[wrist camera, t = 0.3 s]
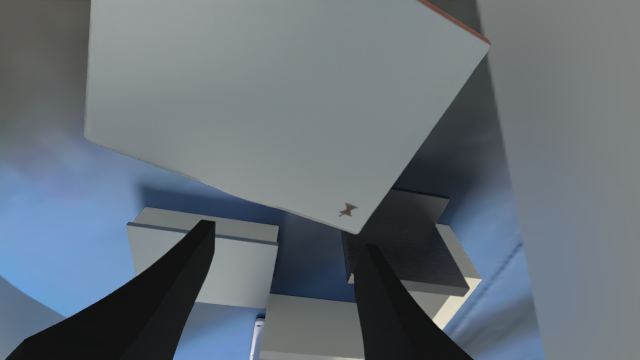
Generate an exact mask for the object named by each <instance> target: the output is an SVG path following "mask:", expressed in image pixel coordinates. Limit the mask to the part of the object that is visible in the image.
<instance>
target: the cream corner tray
mask: <svg viewBox="0 0 640 360" xmlns="http://www.w3.org/2000/svg"><path fill="white" fill-rule="evenodd" d="M435 226H436V227H437V229H438V231H439V233H440V235H441V236H442V238H443V240H444V242H445V244H446V246H447V247H448V249H449V251H450V253H451V255H452V256H453V258H454V260H455V262H456V264H457V266H458V267H459V269H460V271H461V273H462V275H463V276H464V278H465V280H466V282H467V284H468V285H469V287H470V290H469V291H468V292H467V293H466V295H465V296H464V297H458V296H450V295H441V294H433V293H425V292H417V291H408V290H407V291H408V292H409V293H410V295H411V296H412V297H413V298H414V300H415V301H416V302H417V303H418V305H419V306H420V307H421V308H422V309H423V310H424V312H425V313H426V314H427V315H428V316H429V317H430V318H431V319H432V321H433V322H434V323H435V324H436V325H437V326H438V327H439V328H440V329H441V330H442V329H443V328H444V327H445V326H446V324H447V323H448V322H449V321H450V319H451V318H452V317H453V316H454V314H455V313H456V312H457V310H458V309H459V308H460V307H461V305H462V304H463V303H464V302H465V300H466V299H467V298H468V297H469V295H470V294H471V293H472V291H473V290H474V289H475V288H476V286H477V285H478V284H479V283H480V281H481V280H482V278H481V277H480V275H479V274H478V272H477V270H476V269H475V267H474V265H473V264H472V262H471V261H470V259H469V257H468V256H467V254H466V252H465V251H464V249H463V247H462V246H461V244H460V243H459V241H458V239H457V238H456V236H455V234H454V233H453V231H452V230H451V228H450V226H448V225H442V224H436V225H435ZM259 359H270V360H365V356H364V345H363V337H362V331H361V326H360V320H359V314H358V309H357V303H351V302H342V301H333V300H324V299H315V298H306V297H297V296H288V295H279V294H270V293H269V298H268V304H267V309H266V316H265V322H264V329H263V335H262V342H261V349H260V355H259Z"/></svg>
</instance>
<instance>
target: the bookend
mask: <svg viewBox="0 0 640 360" xmlns="http://www.w3.org/2000/svg"><path fill="white" fill-rule="evenodd" d="M449 201H450V199H449V197H443V196H437V195H431V194H425V193H419V192H413V191H407V190H402V189H396V188H390V190H389V191H388V193H387V194H386V195H385V197H384V198H383V199H382V201H381V202H380V204H379V205H378V206H377V208H376V209H375V210H374V212H373V213H372V214H371V216H370V217H369V219H368V220H367V222H366V223H365V225H364V226H363V228H362V229H361V231H360V232H359V233H358V234H353V233H350V232H347V231H344V230H341V234H342V242H343V250H344V258H345V266H346V274H347V282H348V283H350V284H354V269H355V266H356V264H357V261H358V259H359V257H360V254H361V252H362V250H363V247H364V245H365V243H366V244H372V245H377V246H378V248H379V249H380V251H381V252H382V254H383V255H384V257H385V259H386V260H387V262H388V263H389V265H390V266H391V268H392V269H393V271H394V272H395V274H396V275H397V277H398V278H399V280H400V281H401V282H402V284H403V285H404V287H405V288H406V289H407V290H408V291H417V292H425V293H433V294H441V295H450V296H458V297H464V296H465V295H466V293H467V292H468V291H469V290H470V287H469V285H468V284H467V282H466V280H465V278H464V276H463V275H462V273H461V271H460V269H459V267H458V266H457V264H456V262H455V260H454V258H453V256H452V255H451V253H450V251H449V249H448V247H447V246H446V244H445V242H444V240H443V238H442V236H441V235H440V233H439V231H438V229H437V227H436V226H435V225H436V224H437V222H438V220H439V218H440V217H441V215H442V213H443V211H444V210H445V208H446V206H447V204H448V202H449Z"/></svg>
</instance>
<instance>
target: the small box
mask: <svg viewBox="0 0 640 360" xmlns="http://www.w3.org/2000/svg"><path fill="white" fill-rule="evenodd" d="M490 46H491V43H490V41H489V40H488V39H487V38H485V37H484V36H482V35H481V34H479V33H478V32H476V31H474V30H473V29H471V28H470V27H468V26H467V25H465V24H463V23H462V22H460V21H459V20H457V19H455V18H454V17H452V16H451V15H449V14H447V13H446V12H444V11H443V10H441V9H439V8H438V7H436V6H435V5H433V4H431V3H430V2H428V1H427V0H91V12H90V30H89V49H88V68H87V86H86V104H85V120H84V137H85V139H87V140H89V141H91V142H92V143H94V144H96V145H99V146H102V147H105V148H108V149H111V150H113V151H116V152H118V153H121V154H124V155H127V156H130V157H133V158H136V159H138V160H141V161H144V162H146V163H149V164H152V165H154V166H157V167H160V168H163V169H166V170H169V171H172V172H174V173H177V174H180V175H183V176H186V177H188V178H191V179H194V180H196V181H199V182H202V183H204V184H207V185H209V186H211V187H214V188H216V189H219V190H221V191H223V192H226V193H228V194H231V195H234V196H237V197H239V198H242V199H245V200H248V201H252V202H255V203H259V204H263V205H266V206H269V207H274V208H278V209H281V210H284V211H288V212H290V213H293V214H296V215H299V216H302V217H306V218H308V219H311V220H314V221H317V222H320V223H323V224H327V225H330V226H332V227H335V228H338V229H341V230H344V231H347V232H350V233H353V234H358V233H359V232H360V231H361V229H362V228H363V226H364V225H365V223H366V222H367V220H368V219H369V217H370V216H371V214H372V213H373V212H374V210H375V209H376V208H377V206H378V205H379V204H380V202H381V201H382V199H383V198H384V197H385V195H386V194H387V193H388V191H389V190H390V188H391V187H392V186H393V184H394V183H395V181H396V180H397V179H398V177H399V176H400V174H401V173H402V172H403V170H404V169H405V167H406V166H407V165H408V163H409V162H410V160H411V159H412V158H413V156H414V155H415V153H416V152H417V151H418V149H419V148H420V146H421V145H422V143H423V142H424V141H425V139H426V138H427V136H428V135H429V133H430V132H431V130H432V129H433V128H434V126H435V125H436V123H437V122H438V121H439V119H440V118H441V117H442V115H443V114H444V112H445V111H446V110H447V108H448V107H449V105H450V104H451V103H452V101H453V100H454V98H455V97H456V95H457V94H458V93H459V91H460V90H461V88H462V87H463V85H464V84H465V83H466V81H467V80H468V78H469V77H470V75H471V74H472V72H473V71H474V69H475V68H476V67H477V65H478V64H479V63H480V61H481V60H482V59H483V57H484V56H485V55H486V53H487V52H488V50H489V49H490Z"/></svg>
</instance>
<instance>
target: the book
mask: <svg viewBox="0 0 640 360" xmlns="http://www.w3.org/2000/svg"><path fill="white" fill-rule="evenodd" d="M202 219H203V220H210V221H216V227H215V253H214V256H213V260H212V263H211V266H210V269H209V272H208V274H207V277H206V279H205V281H204V283H203V286H202V288H201V290H200V292H199V294H198V296H197V299H196V301H195V302H204V303H214V304H223V305H232V306H242V307H251V308H261V309H267V304H268V298H269V293H270V288H271V282H272V277H273V271H274V266H275V261H276V255H277V250H278V244H279V243H278V242H277V235H278V229H279V226H275V225H268V224H261V223H254V222H247V221H240V220H233V219H226V218H219V217H212V216H206V215H199V214H192V213H185V212H178V211H171V210H164V209H157V208H150V207H145V208H144V209H143V210H142V211H141V213H140V214H139V215H138V216H137V218H136V219H135V220H134V221H133V222H128V224H127V225H126V227H127V232H128V237H129V242H130V247H131V252H132V257H133V262H134V267H135V272H136V276H138V275H139V274H140V273H142V272H143V271H144V270H146V269H147V268H148V267H150V266H151V265H152V264H153V263H154V262H156V261H157V260H158V259H159V258H161V257H162V256H163V255H164V254H165V253H167V252H168V251H169V250H170V249H171V248H172V247H173V246H174V245H175V244H177V243H178V242H179V241H180V240H181V239H182V238H183V237H184V236H185V235H186V234H187V233H188V232H189V231H190V230H191V229H192V228H193V227H194V226H195V225H196V224H197V223H198V222H199V221H200V220H202Z"/></svg>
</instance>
